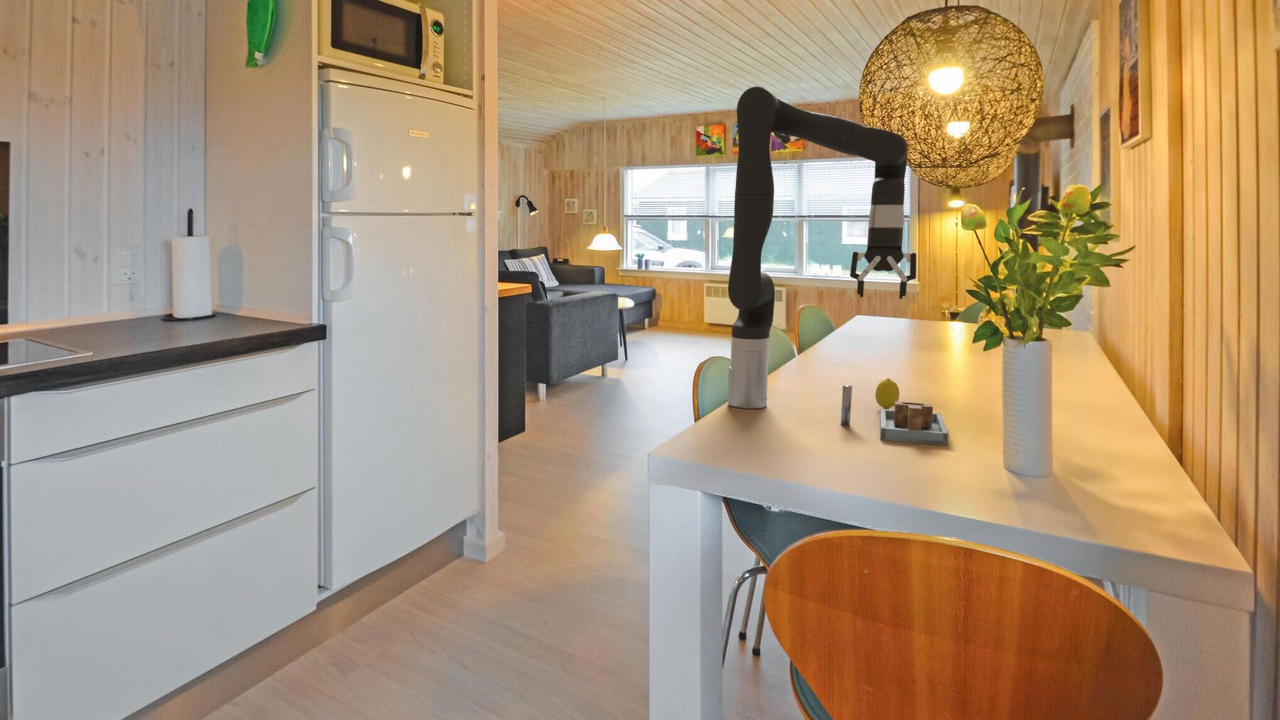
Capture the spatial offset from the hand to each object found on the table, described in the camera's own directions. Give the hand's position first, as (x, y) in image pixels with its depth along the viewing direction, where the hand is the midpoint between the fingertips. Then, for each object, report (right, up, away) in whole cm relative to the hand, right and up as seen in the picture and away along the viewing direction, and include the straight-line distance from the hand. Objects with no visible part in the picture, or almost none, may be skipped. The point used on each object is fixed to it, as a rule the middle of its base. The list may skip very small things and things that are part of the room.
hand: (881, 297), depth 169 cm
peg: (-9, -29, -3) cm, 30 cm away
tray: (+4, -30, -8) cm, 31 cm away
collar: (+4, -29, -9) cm, 30 cm away
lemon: (+5, -27, +11) cm, 30 cm away
